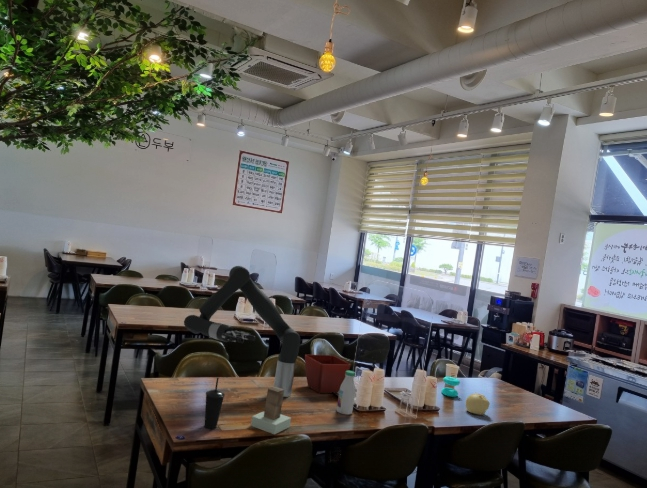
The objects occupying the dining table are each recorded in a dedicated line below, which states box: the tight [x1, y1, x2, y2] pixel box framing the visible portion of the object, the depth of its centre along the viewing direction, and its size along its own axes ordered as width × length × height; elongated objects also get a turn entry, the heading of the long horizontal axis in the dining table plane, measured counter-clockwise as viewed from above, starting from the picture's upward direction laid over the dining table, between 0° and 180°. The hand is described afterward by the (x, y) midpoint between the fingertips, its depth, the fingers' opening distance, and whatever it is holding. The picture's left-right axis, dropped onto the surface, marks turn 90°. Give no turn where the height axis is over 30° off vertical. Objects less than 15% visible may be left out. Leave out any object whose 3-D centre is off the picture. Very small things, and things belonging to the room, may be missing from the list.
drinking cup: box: [203, 377, 226, 430], centre depth 205 cm, size 8×8×20 cm
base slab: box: [250, 411, 292, 435], centre depth 215 cm, size 12×12×4 cm
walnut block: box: [263, 385, 284, 420], centre depth 215 cm, size 5×5×12 cm
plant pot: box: [304, 354, 351, 394], centre depth 279 cm, size 19×19×17 cm
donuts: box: [441, 376, 461, 398], centre depth 308 cm, size 10×10×10 cm
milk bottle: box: [336, 370, 356, 416], centre depth 247 cm, size 8×8×20 cm
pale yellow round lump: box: [464, 392, 490, 416], centre depth 279 cm, size 12×12×11 cm
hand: (249, 339), depth 228 cm, fingers open, 8 cm apart
